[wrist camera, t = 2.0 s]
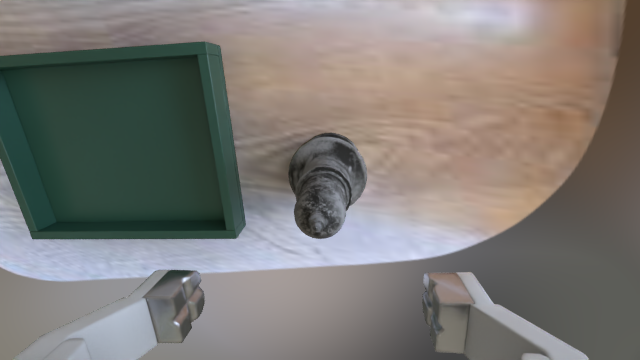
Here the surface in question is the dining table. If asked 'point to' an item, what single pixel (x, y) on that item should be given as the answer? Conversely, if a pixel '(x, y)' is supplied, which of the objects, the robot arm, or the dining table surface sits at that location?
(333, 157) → the dark grey chess piece
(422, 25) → the dining table surface
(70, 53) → the tray
